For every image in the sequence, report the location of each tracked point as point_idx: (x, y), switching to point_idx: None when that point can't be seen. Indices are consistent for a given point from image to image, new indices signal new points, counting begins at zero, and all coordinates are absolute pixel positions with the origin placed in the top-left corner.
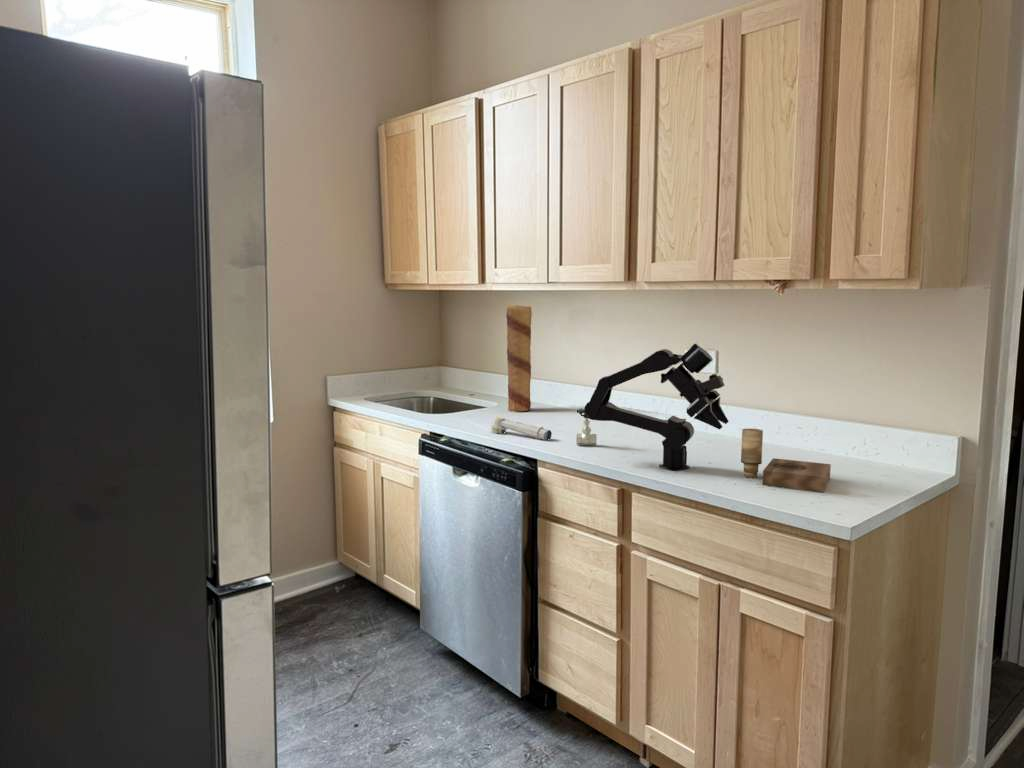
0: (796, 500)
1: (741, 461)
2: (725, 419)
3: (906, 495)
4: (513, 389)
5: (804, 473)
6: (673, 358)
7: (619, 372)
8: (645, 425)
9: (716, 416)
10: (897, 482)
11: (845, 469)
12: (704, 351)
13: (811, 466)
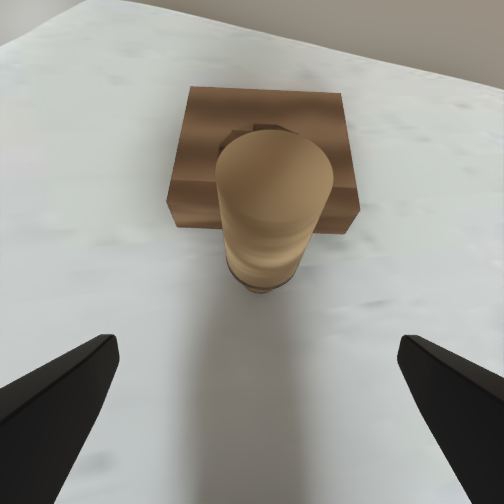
0: (427, 162)
1: (282, 284)
2: (98, 361)
3: (269, 37)
4: None
5: (328, 124)
6: None
7: None
8: None
9: (41, 493)
10: (180, 41)
11: (92, 98)
12: None
13: (237, 116)
